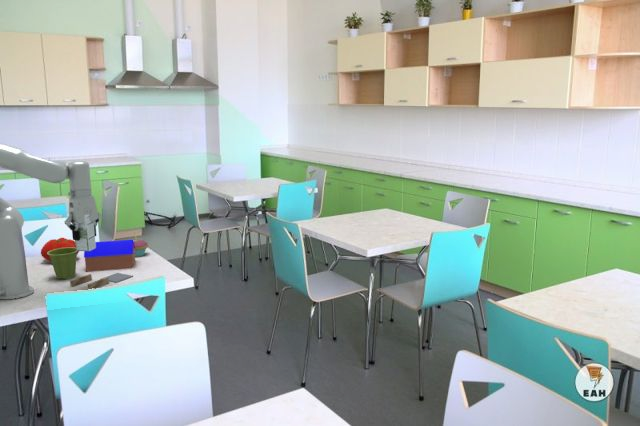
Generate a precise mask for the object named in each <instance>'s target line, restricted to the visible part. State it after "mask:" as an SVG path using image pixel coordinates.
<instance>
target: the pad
mask: <svg viewBox="0 0 640 426" xmlns="http://www.w3.org/2000/svg"><path fill="white" fill-rule="evenodd" d="M106 277H108V278H109V283H114V284H117V283H120V282H122V281H125V280H128V279H131V278H134V275H131V274H126V273H120V272H115V273H113V274H110V275H108V276H104V277H102V278H100V279H99V280H101V279H103V278H106Z"/></svg>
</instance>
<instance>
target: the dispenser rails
mask: <svg viewBox="0 0 640 426" xmlns="http://www.w3.org/2000/svg"><path fill="white" fill-rule="evenodd" d="M92 276H93V275H92V274H91V273H89V274H86V275H83V276H80V277H77V278H74V279H73V278H72V279H71V280H69V284H70V287H71V288H73V287H76V286H79V285H82V284H85V283H87V284H86V285H87V290H88V289H92V288H95V289H97V288H101V287H103V286H106V285H108V284H110V282H109V278H108V277H107V276H105V277H106V278H104V277H102V278H103V279H101V278H100V279H101V280H100V279H98V280H96V281H93V282H91V281H92V280H93V278H92ZM88 282H90V283H88Z"/></svg>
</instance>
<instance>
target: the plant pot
mask: <svg viewBox="0 0 640 426" xmlns="http://www.w3.org/2000/svg"><path fill="white" fill-rule="evenodd" d="M47 254H48V255H49V257H50V260H51V261H50V263H52V267H53V271H54V274H55V277H56V279H58V280H61V279H64V280H67V279H73V278H74V276H76V273H77V271H76V270H77V269H76V268H77V267H76V266H77V256H78V254H77V251H76V249H75V248H74V247H67V248H59V249H54V250H51V251H49V252H47Z"/></svg>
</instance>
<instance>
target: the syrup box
mask: <svg viewBox="0 0 640 426" xmlns="http://www.w3.org/2000/svg"><path fill="white" fill-rule="evenodd" d="M73 220H74V218H73ZM74 222H75V221H74ZM75 225H76V224H75ZM78 230H79V234H80V240H79V241H77V240H74V241H75V249H76V251H79V252H84V251H91V250H93V249H95V248H96V243H95V242H96V236H95V232H94V221H91V222H90V220H89V214H87V215H85V216H84V223H83V224H79V227H78Z"/></svg>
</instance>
